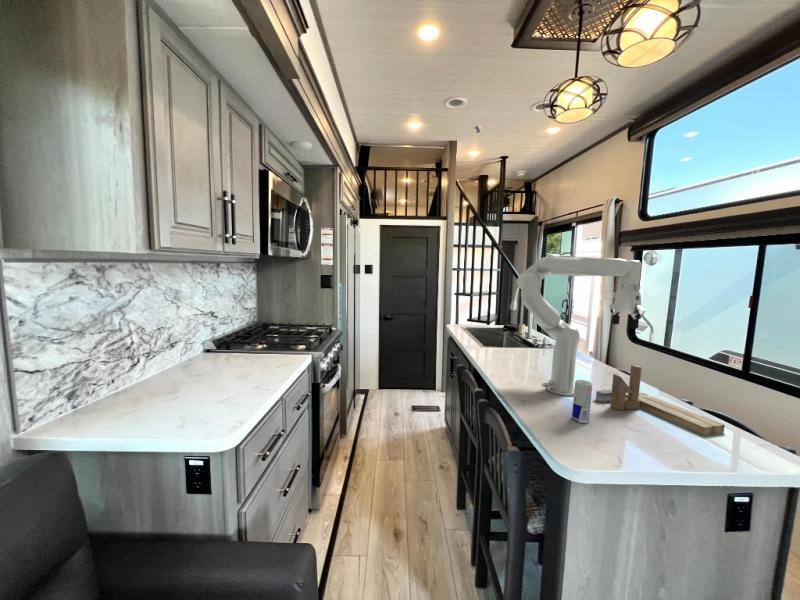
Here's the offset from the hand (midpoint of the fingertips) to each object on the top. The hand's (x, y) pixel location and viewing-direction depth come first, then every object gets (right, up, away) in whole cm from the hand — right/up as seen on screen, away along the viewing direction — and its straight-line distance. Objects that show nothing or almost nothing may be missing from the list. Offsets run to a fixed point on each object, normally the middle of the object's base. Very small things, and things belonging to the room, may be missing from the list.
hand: (624, 326), depth 146 cm
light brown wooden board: (+6, -34, -17) cm, 39 cm away
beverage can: (-33, -34, -24) cm, 53 cm away
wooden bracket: (-8, -33, -11) cm, 36 cm away
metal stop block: (-10, -32, -3) cm, 34 cm away
